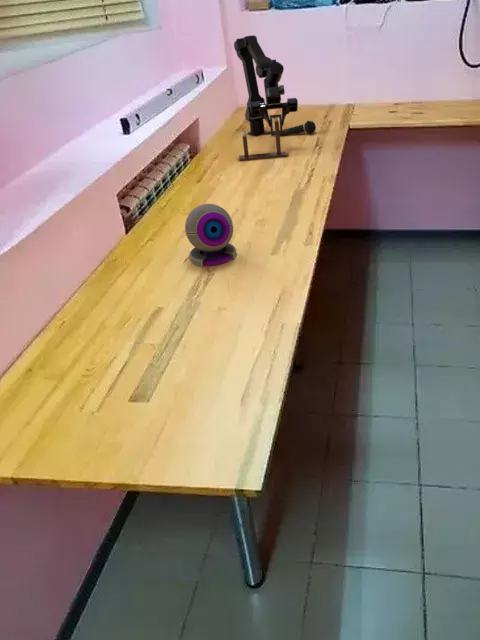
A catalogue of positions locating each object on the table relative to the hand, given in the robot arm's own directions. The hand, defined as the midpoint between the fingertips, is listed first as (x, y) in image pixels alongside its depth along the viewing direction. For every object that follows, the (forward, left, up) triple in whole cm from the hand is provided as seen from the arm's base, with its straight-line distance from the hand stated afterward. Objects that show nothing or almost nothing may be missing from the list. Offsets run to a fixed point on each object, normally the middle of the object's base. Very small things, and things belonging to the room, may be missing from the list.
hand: (276, 125), depth 245 cm
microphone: (-17, +24, -11) cm, 31 cm away
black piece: (-1, +1, -3) cm, 4 cm away
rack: (-3, -6, -11) cm, 13 cm away
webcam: (+60, -75, -11) cm, 97 cm away
